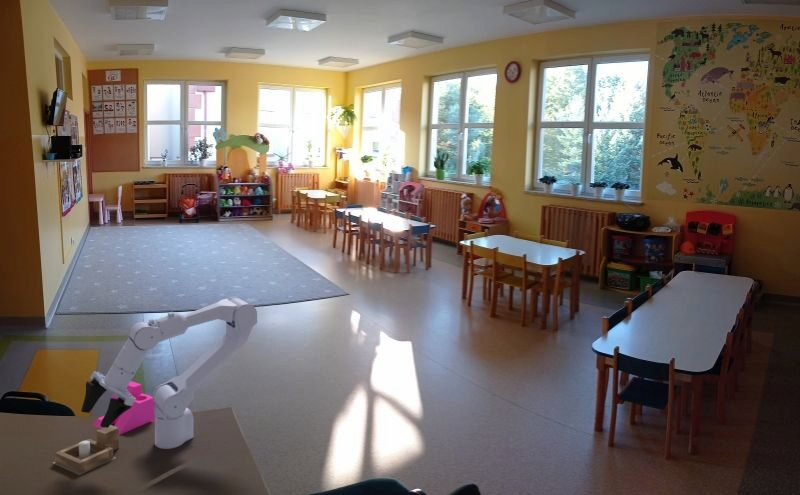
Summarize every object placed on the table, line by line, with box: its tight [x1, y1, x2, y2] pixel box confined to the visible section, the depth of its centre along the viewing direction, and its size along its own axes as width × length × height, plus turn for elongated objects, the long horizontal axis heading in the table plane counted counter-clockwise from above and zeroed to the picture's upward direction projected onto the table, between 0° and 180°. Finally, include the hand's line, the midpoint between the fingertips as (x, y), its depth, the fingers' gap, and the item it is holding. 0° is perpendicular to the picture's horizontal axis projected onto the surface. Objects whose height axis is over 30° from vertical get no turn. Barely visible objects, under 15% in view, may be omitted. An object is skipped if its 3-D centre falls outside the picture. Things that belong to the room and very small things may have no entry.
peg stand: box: [52, 440, 117, 476], centre depth 153 cm, size 10×10×6 cm
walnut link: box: [54, 424, 120, 473], centre depth 155 cm, size 13×9×6 cm
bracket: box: [92, 380, 155, 436], centre depth 174 cm, size 12×10×10 cm
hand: (94, 419), depth 153 cm, fingers open, 7 cm apart
